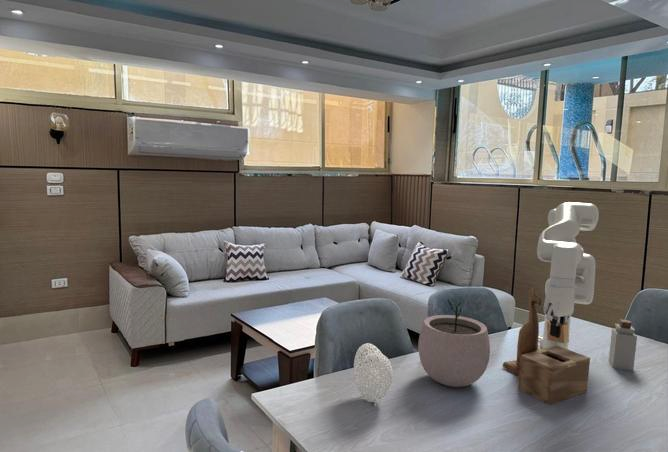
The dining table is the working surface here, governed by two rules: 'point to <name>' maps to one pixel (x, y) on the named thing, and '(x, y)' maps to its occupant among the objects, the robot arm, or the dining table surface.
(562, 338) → the tan flat square block
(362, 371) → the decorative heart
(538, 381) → the box
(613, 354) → the perfume bottle
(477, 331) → the plant pot
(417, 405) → the dining table surface
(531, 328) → the bird sculpture
